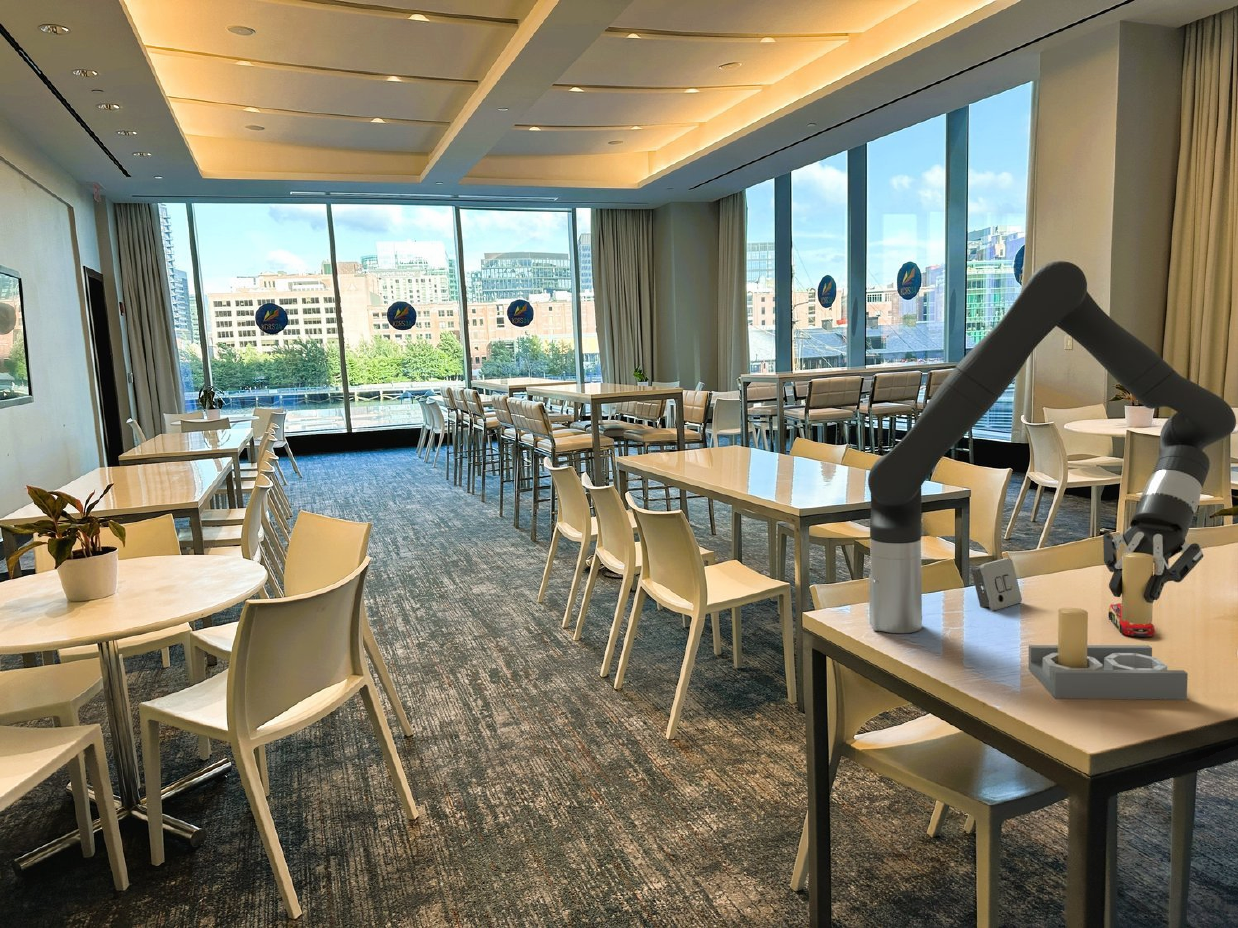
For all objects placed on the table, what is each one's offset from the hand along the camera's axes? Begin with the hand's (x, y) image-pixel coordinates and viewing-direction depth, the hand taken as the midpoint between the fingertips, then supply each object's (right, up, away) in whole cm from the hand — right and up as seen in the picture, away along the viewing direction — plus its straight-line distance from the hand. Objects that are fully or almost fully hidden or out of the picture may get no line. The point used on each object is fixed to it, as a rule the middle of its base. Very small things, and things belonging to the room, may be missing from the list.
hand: (1131, 596), depth 126 cm
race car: (+17, -11, +28) cm, 34 cm away
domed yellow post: (+2, -4, +2) cm, 5 cm away
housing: (-2, -14, +4) cm, 15 cm away
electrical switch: (0, -9, +45) cm, 46 cm away
